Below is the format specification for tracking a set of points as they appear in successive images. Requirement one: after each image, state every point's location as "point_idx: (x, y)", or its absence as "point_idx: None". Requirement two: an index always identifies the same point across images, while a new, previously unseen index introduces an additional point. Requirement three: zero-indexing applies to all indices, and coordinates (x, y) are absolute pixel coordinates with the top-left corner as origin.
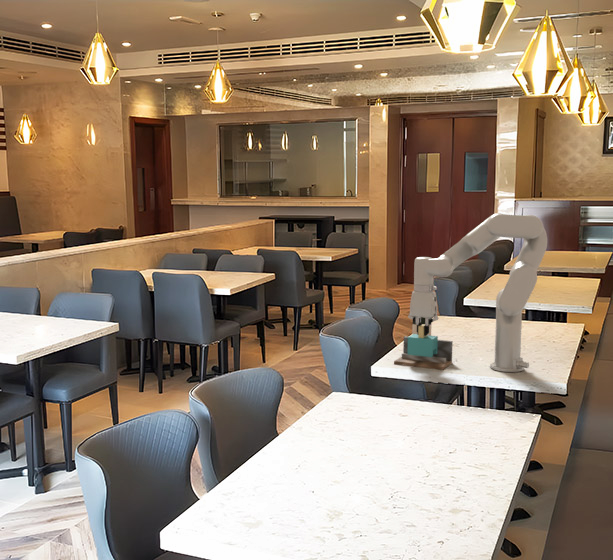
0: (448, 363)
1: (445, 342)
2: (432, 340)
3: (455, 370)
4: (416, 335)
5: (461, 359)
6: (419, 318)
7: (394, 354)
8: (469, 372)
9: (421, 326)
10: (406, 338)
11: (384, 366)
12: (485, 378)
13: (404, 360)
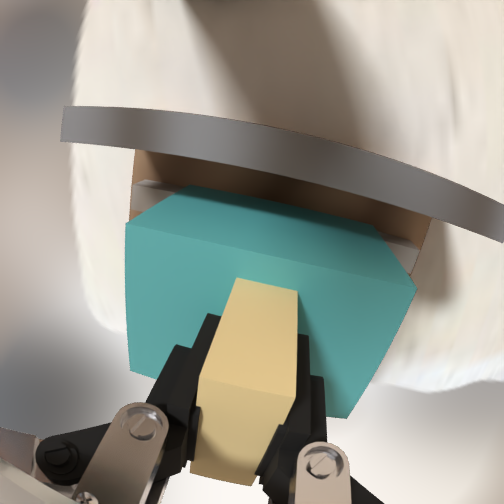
0: (420, 243)
1: (461, 225)
2: (348, 407)
3: (433, 315)
4: (174, 296)
5: (474, 76)
6: (126, 494)
7: (91, 59)
8: (476, 328)
9: (225, 478)
10: (86, 143)
11: (116, 314)
12: (493, 378)
13: None
